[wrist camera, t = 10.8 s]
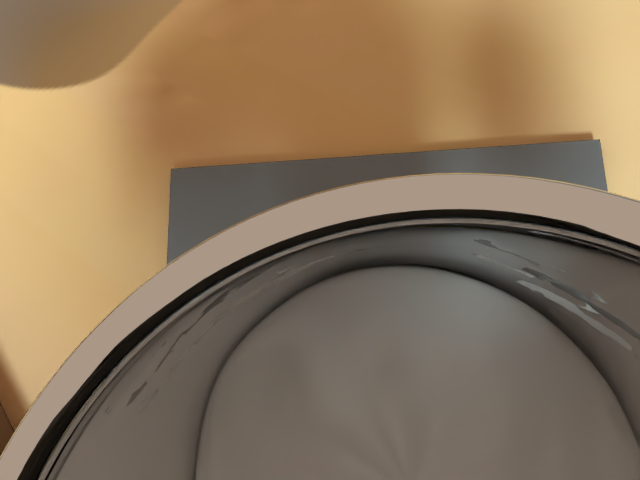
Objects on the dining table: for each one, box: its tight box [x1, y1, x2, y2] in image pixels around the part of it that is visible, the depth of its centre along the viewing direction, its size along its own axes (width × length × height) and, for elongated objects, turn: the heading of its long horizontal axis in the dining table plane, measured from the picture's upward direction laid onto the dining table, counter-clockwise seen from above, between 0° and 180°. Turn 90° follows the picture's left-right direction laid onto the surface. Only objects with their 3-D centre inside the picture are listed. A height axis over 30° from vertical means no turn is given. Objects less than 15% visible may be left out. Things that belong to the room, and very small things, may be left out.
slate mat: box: [167, 139, 608, 265], centre depth 17 cm, size 18×18×1 cm
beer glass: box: [0, 173, 640, 480], centre depth 10 cm, size 7×7×15 cm
